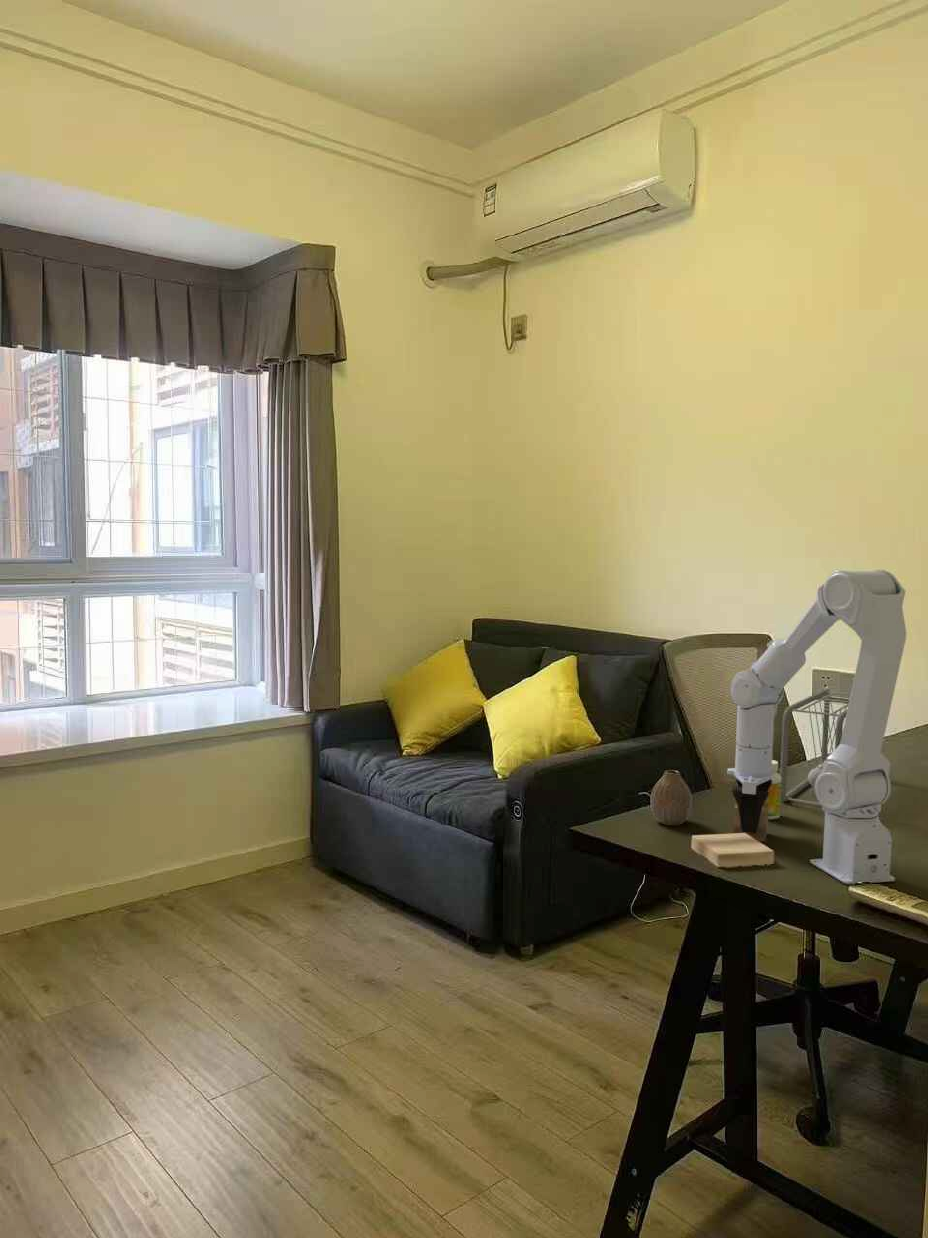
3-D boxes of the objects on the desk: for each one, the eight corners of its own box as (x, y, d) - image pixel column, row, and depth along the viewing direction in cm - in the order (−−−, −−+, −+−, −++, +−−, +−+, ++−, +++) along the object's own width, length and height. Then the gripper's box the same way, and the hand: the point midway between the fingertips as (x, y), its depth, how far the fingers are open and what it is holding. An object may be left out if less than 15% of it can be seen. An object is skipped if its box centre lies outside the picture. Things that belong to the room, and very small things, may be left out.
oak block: (773, 867, 147) (774, 851, 146) (717, 871, 145) (718, 854, 145) (744, 848, 155) (744, 832, 155) (691, 851, 154) (691, 835, 153)
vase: (696, 820, 168) (698, 770, 168) (683, 830, 162) (685, 778, 162) (657, 814, 172) (659, 764, 171) (643, 824, 166) (645, 773, 165)
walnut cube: (765, 841, 157) (766, 811, 157) (732, 837, 159) (734, 807, 159) (767, 833, 162) (768, 803, 162) (735, 829, 164) (737, 799, 163)
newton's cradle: (837, 813, 174) (842, 714, 173) (778, 803, 180) (782, 708, 178) (874, 779, 199) (879, 693, 197) (821, 772, 205) (825, 687, 203)
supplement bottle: (781, 821, 169) (784, 765, 168) (749, 819, 170) (751, 763, 169) (778, 812, 174) (780, 758, 173) (746, 810, 175) (748, 756, 174)
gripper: (733, 734, 167) (729, 812, 169) (724, 751, 154) (720, 836, 155) (776, 738, 165) (772, 817, 166) (771, 756, 151) (767, 842, 153)
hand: (750, 826), depth 160 cm, fingers closed on walnut cube, 5 cm apart
